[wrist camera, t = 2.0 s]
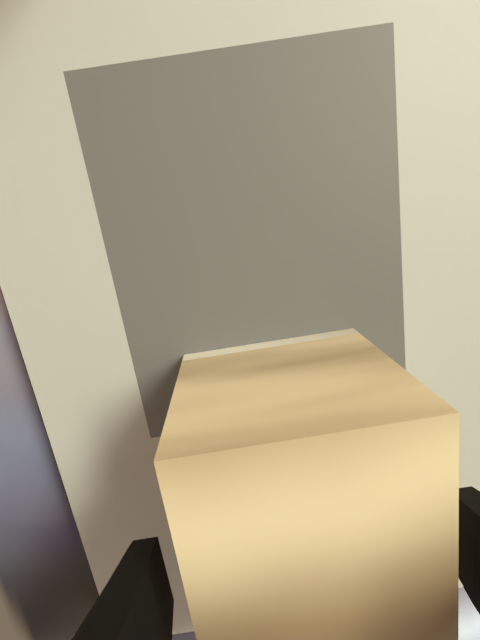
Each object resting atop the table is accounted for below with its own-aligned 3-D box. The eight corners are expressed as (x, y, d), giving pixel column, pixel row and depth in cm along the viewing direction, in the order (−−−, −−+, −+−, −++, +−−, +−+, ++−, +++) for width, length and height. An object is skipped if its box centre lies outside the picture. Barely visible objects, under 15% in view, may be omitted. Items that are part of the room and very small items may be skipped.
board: (476, 557, 15) (494, 581, 14) (121, 615, 14) (114, 644, 13) (488, -67, 9) (520, -100, 8) (-62, 15, 9) (-95, -10, 8)
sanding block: (370, 569, 13) (457, 770, 8) (231, 592, 13) (237, 808, 8) (353, 328, 11) (459, 412, 6) (183, 355, 11) (154, 461, 6)
